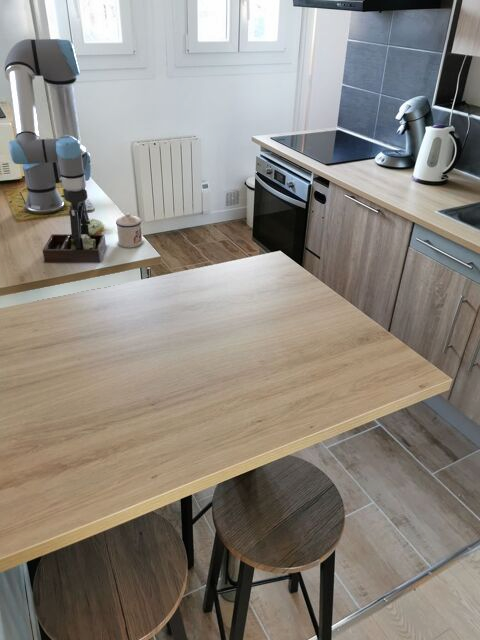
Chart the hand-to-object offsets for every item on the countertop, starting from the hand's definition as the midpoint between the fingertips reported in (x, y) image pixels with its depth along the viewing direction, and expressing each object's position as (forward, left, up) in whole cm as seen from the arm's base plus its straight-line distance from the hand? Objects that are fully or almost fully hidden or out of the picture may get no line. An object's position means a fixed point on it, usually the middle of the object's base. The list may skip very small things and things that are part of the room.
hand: (83, 248), depth 184 cm
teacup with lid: (-10, +16, -2) cm, 19 cm away
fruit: (0, 0, -2) cm, 2 cm away
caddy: (0, -3, -2) cm, 4 cm away
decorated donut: (-19, -1, -2) cm, 20 cm away
